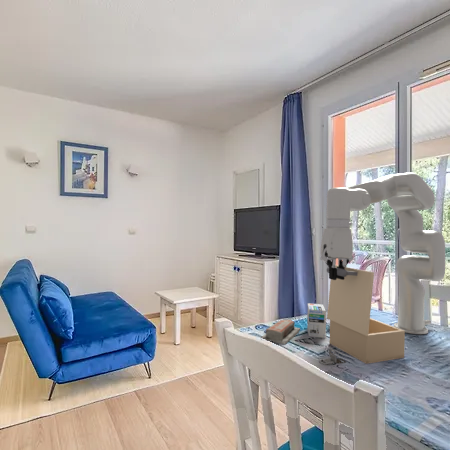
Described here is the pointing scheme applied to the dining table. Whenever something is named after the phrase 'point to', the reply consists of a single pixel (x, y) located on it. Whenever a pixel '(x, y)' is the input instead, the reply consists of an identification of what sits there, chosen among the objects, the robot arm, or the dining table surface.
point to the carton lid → (351, 299)
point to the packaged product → (281, 332)
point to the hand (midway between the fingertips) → (336, 278)
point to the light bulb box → (316, 320)
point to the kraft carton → (369, 341)
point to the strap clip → (331, 359)
